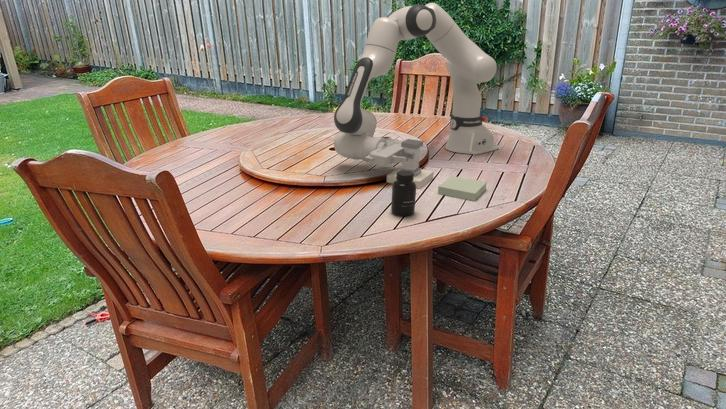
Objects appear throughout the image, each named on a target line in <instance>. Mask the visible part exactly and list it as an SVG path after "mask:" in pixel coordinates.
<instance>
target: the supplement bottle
mask: <svg viewBox="0 0 726 409" xmlns="http://www.w3.org/2000/svg"><path fill="white" fill-rule="evenodd" d="M396 179H397V180H396V181H395V182H394V183H392V189H391V204H390V206H391V208H390V210H391V211H390V212H391V213H392V214H393V215H395V216H398V217H409V216H412V215H414V213H415V209H416V198H417V196H416V195H417V188H416V184H415V182H413V180H414V173H413V172H410V171H398V172H397V177H396Z"/></svg>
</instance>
